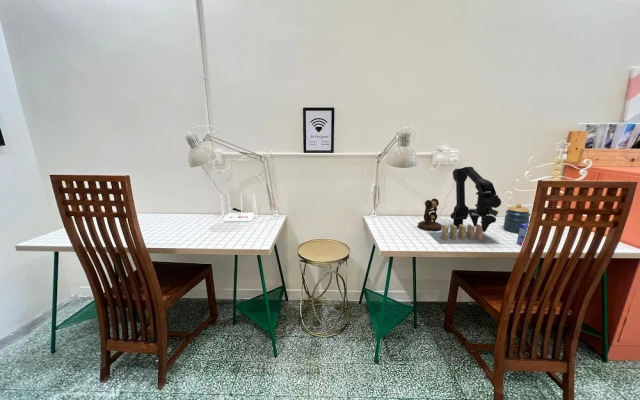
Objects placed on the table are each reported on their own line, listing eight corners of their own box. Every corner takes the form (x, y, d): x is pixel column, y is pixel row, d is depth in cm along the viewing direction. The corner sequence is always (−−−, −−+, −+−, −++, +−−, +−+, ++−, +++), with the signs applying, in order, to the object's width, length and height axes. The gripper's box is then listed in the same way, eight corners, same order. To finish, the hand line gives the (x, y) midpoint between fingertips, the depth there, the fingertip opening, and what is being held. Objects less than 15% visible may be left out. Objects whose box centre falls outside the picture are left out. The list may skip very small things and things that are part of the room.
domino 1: (444, 240, 156) (445, 227, 154) (441, 237, 161) (442, 224, 159) (447, 240, 156) (448, 227, 154) (443, 237, 161) (444, 224, 159)
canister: (526, 229, 174) (531, 203, 170) (528, 235, 163) (533, 207, 159) (502, 225, 181) (506, 200, 177) (502, 231, 170) (507, 204, 166)
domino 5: (479, 240, 155) (480, 227, 154) (474, 236, 160) (476, 224, 159) (481, 240, 155) (483, 227, 154) (477, 236, 160) (478, 224, 158)
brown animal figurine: (426, 223, 188) (428, 195, 183) (446, 229, 176) (449, 199, 171) (413, 227, 180) (415, 198, 175) (433, 233, 168) (435, 203, 163)
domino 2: (453, 240, 156) (454, 227, 154) (449, 237, 161) (450, 224, 159) (455, 240, 156) (457, 227, 154) (452, 237, 161) (453, 224, 159)
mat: (427, 232, 169) (427, 232, 169) (481, 232, 168) (481, 232, 168) (439, 244, 151) (439, 243, 151) (500, 244, 150) (500, 243, 150)
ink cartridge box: (526, 248, 144) (531, 223, 141) (515, 244, 149) (520, 220, 146) (537, 245, 148) (542, 220, 145) (526, 241, 153) (530, 217, 150)
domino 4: (470, 240, 156) (472, 227, 154) (466, 237, 160) (467, 224, 159) (473, 240, 156) (474, 227, 154) (468, 237, 160) (470, 224, 159)
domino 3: (461, 240, 156) (463, 227, 154) (457, 237, 161) (459, 224, 159) (464, 240, 156) (466, 227, 154) (460, 237, 161) (461, 224, 159)
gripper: (507, 207, 144) (503, 234, 147) (487, 199, 162) (484, 224, 165) (486, 207, 144) (483, 234, 147) (468, 199, 162) (466, 224, 166)
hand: (479, 229), depth 156 cm, fingers open, 9 cm apart
